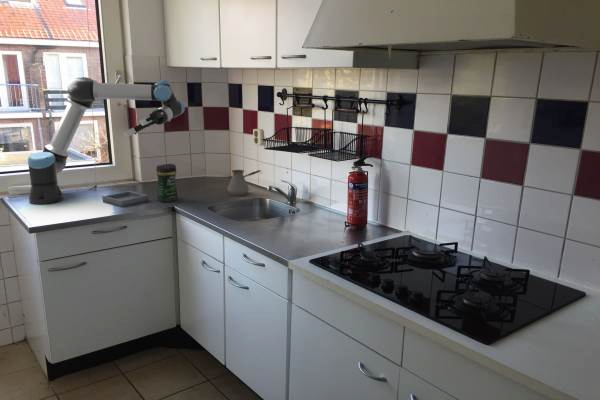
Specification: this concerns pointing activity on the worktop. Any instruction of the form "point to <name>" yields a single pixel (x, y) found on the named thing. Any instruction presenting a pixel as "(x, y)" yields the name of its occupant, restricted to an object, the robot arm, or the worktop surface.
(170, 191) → the coffee jar
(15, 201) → the worktop surface
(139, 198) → the grey shallow rectangular tray
